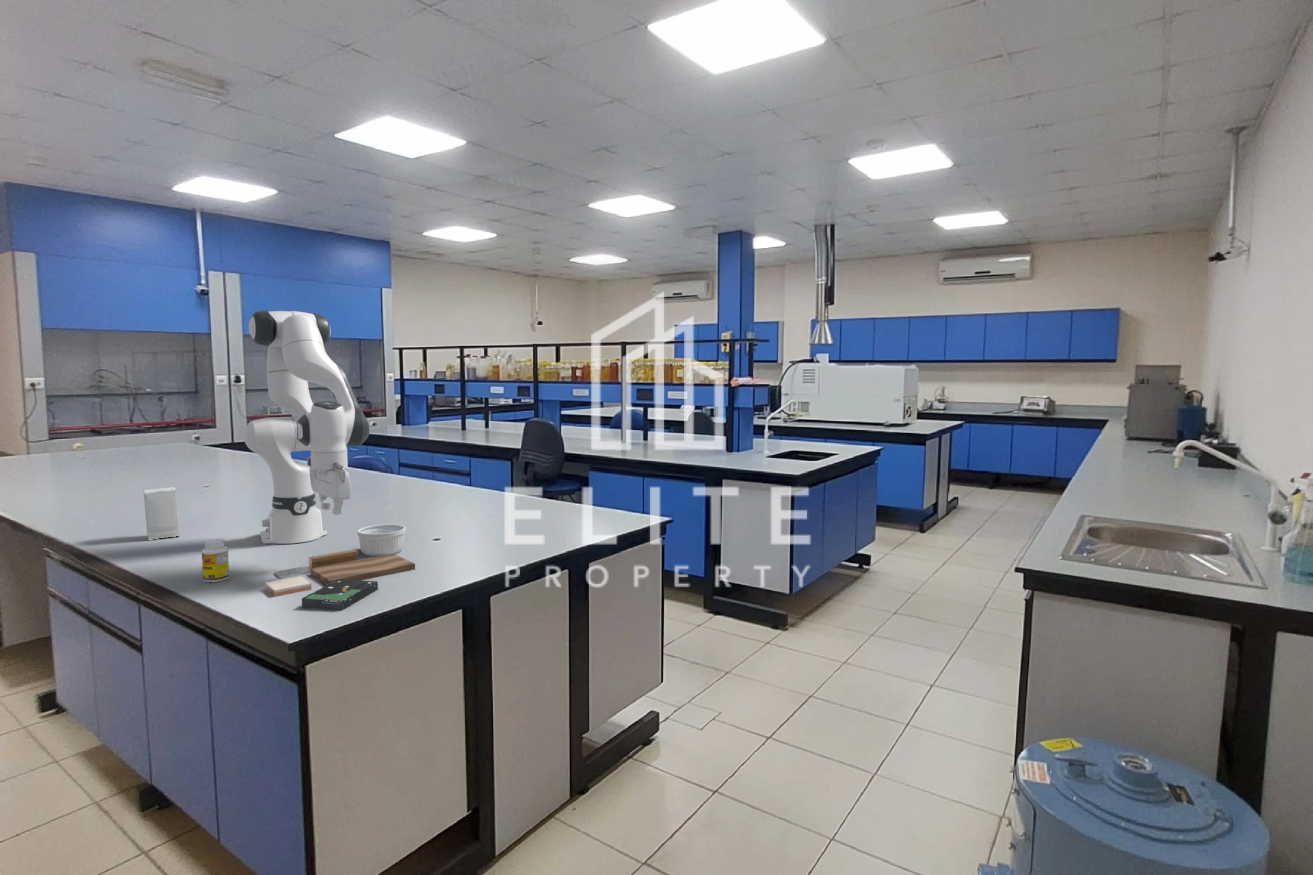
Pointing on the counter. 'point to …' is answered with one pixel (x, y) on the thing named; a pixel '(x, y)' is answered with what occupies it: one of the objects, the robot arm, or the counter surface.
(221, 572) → the supplement bottle
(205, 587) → the counter surface
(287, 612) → the counter surface
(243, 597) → the counter surface
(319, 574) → the board
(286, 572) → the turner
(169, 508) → the skincare box
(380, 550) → the ramekin
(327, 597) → the disk drive
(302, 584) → the tile
